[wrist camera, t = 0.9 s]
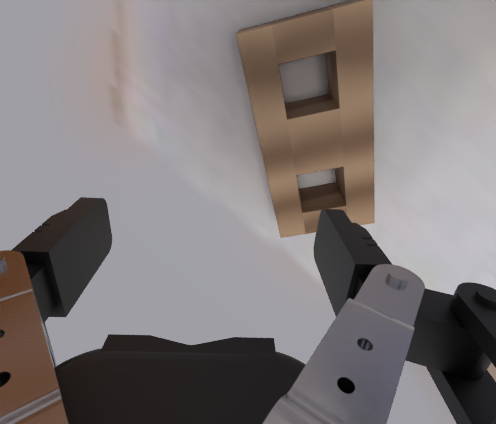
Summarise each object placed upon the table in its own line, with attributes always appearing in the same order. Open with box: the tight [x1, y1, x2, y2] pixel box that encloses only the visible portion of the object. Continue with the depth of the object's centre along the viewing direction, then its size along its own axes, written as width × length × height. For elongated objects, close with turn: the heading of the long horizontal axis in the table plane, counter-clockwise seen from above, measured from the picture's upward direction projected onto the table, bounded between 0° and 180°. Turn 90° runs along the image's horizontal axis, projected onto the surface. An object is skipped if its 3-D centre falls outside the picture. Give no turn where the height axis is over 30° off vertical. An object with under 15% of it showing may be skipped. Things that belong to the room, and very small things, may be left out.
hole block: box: [236, 0, 374, 238], centre depth 30 cm, size 20×10×5 cm, turn 13°
